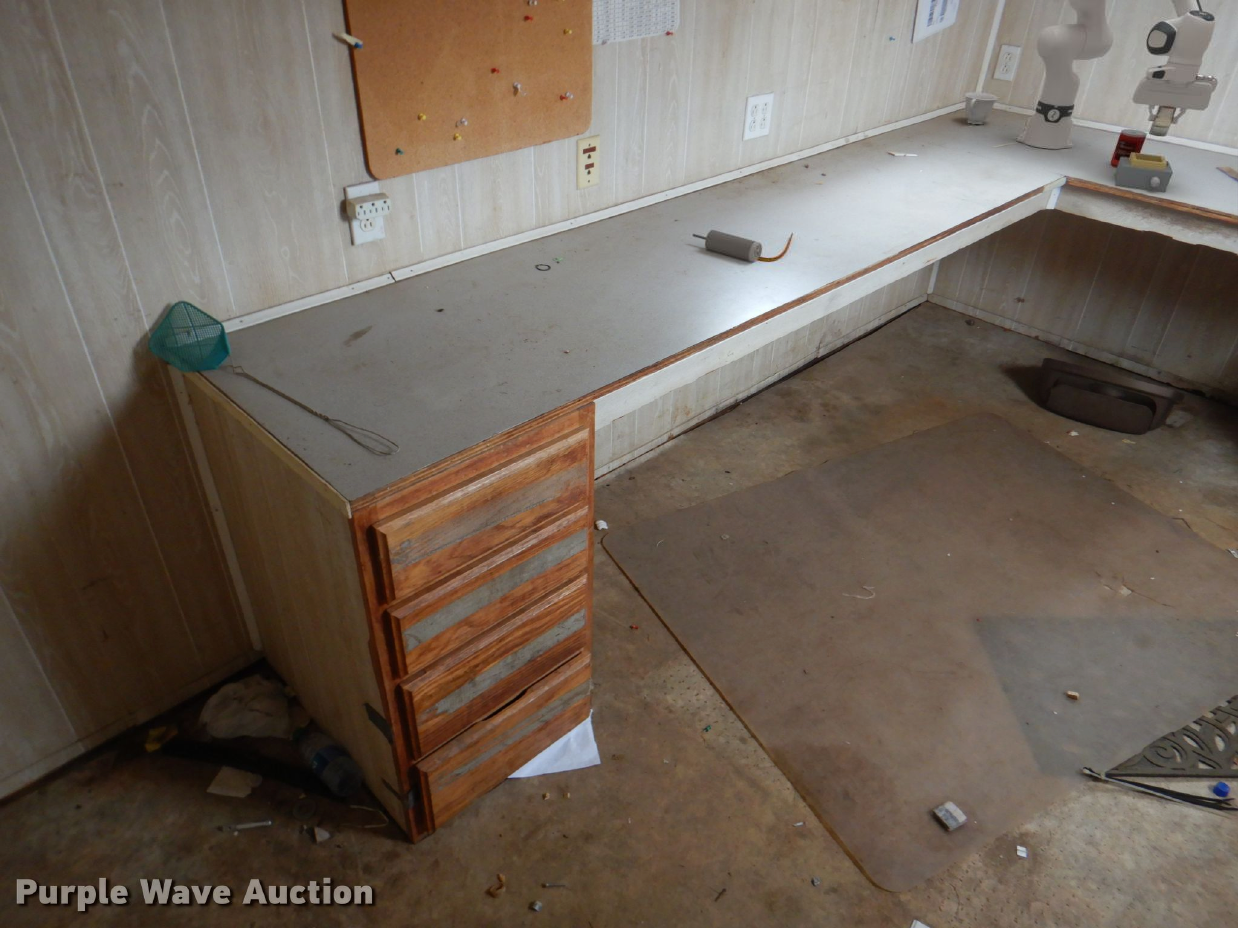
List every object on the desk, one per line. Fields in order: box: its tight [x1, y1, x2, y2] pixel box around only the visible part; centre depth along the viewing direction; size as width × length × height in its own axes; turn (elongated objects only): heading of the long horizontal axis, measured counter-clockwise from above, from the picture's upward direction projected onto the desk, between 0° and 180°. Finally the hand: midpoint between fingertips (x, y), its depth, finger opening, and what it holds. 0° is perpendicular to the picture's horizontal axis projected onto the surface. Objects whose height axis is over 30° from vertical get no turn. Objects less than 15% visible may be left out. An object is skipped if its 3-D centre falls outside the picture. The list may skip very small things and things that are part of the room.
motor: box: [692, 229, 794, 263], centre depth 219 cm, size 23×22×5 cm
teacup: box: [964, 92, 999, 125], centre depth 329 cm, size 12×15×10 cm
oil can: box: [1148, 106, 1178, 137], centre depth 261 cm, size 5×5×8 cm
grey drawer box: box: [1113, 152, 1174, 193], centre depth 269 cm, size 15×14×8 cm
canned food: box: [1110, 128, 1147, 169], centre depth 286 cm, size 8×8×11 cm
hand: (1162, 122), depth 262 cm, fingers closed on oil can, 5 cm apart
